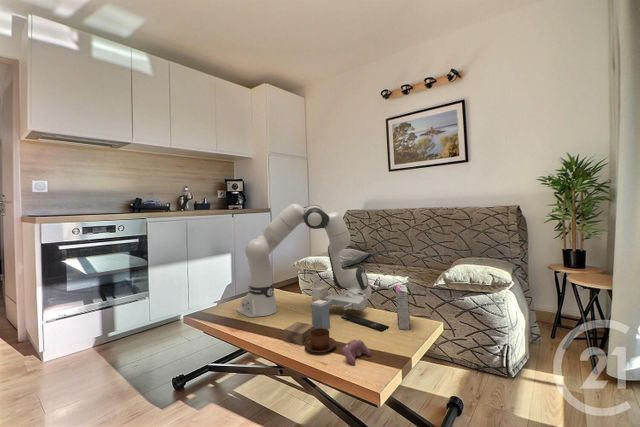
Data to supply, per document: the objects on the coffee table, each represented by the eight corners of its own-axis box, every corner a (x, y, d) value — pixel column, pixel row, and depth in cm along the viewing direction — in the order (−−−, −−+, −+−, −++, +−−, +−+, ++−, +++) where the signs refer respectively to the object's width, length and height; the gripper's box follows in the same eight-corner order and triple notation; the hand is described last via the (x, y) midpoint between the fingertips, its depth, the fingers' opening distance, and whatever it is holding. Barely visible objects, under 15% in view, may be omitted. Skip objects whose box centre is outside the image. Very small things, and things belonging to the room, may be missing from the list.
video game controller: (363, 356, 112) (356, 337, 114) (372, 354, 109) (364, 334, 111) (345, 367, 105) (338, 346, 107) (354, 365, 102) (346, 344, 104)
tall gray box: (312, 329, 135) (311, 302, 135) (320, 324, 139) (318, 299, 139) (322, 331, 132) (321, 304, 131) (329, 327, 136) (328, 300, 136)
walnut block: (284, 341, 124) (284, 329, 124) (297, 333, 132) (297, 321, 132) (302, 346, 119) (302, 333, 119) (315, 337, 127) (314, 325, 127)
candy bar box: (396, 319, 141) (395, 284, 140) (408, 320, 140) (406, 284, 139) (398, 329, 130) (396, 291, 129) (410, 330, 129) (408, 291, 128)
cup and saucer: (322, 359, 109) (321, 341, 108) (298, 350, 116) (297, 334, 116) (342, 346, 118) (341, 330, 117) (318, 338, 125) (318, 323, 125)
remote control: (381, 333, 128) (381, 330, 128) (340, 319, 146) (340, 316, 146) (389, 329, 132) (389, 326, 132) (347, 316, 150) (347, 313, 150)
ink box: (320, 312, 155) (319, 283, 155) (312, 311, 158) (310, 282, 157) (329, 307, 162) (327, 279, 162) (321, 306, 165) (319, 278, 165)
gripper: (333, 289, 162) (317, 296, 151) (368, 295, 149) (353, 303, 138) (334, 301, 162) (318, 309, 151) (369, 307, 149) (354, 317, 138)
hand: (335, 306), depth 144 cm, fingers open, 8 cm apart
